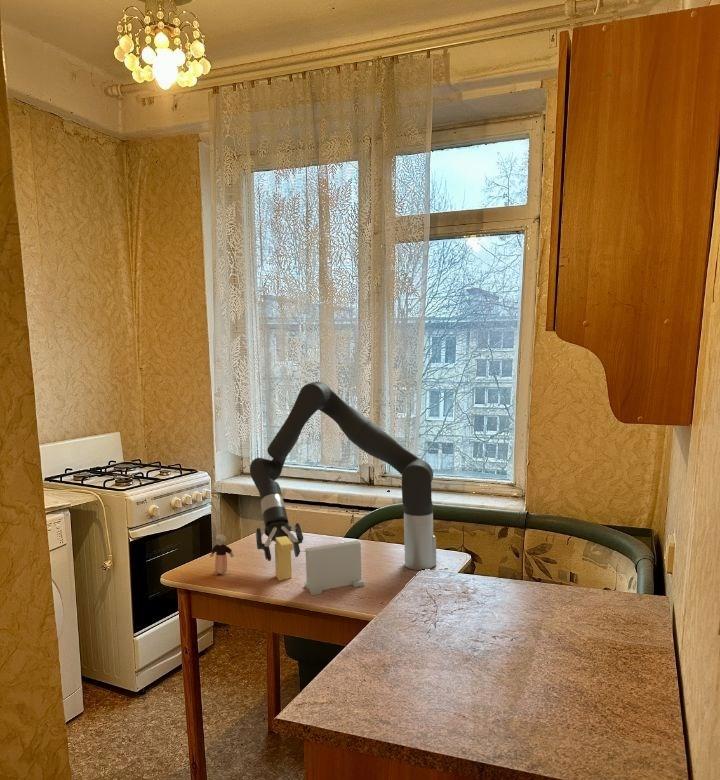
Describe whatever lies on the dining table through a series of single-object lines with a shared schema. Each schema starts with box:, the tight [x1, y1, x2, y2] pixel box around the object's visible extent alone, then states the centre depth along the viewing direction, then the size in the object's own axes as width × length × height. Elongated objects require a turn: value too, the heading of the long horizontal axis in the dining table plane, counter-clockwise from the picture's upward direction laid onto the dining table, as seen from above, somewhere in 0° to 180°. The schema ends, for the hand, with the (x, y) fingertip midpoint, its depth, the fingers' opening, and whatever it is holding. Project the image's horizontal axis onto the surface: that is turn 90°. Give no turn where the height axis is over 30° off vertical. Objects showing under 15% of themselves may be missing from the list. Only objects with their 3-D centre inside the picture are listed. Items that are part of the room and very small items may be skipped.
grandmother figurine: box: [209, 533, 235, 576], centre depth 175 cm, size 8×4×13 cm, turn 92°
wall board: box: [304, 540, 365, 596], centre depth 164 cm, size 16×7×12 cm, turn 112°
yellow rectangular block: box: [274, 536, 294, 581], centre depth 169 cm, size 4×8×12 cm, turn 22°
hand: (283, 557), depth 171 cm, fingers open, 8 cm apart
